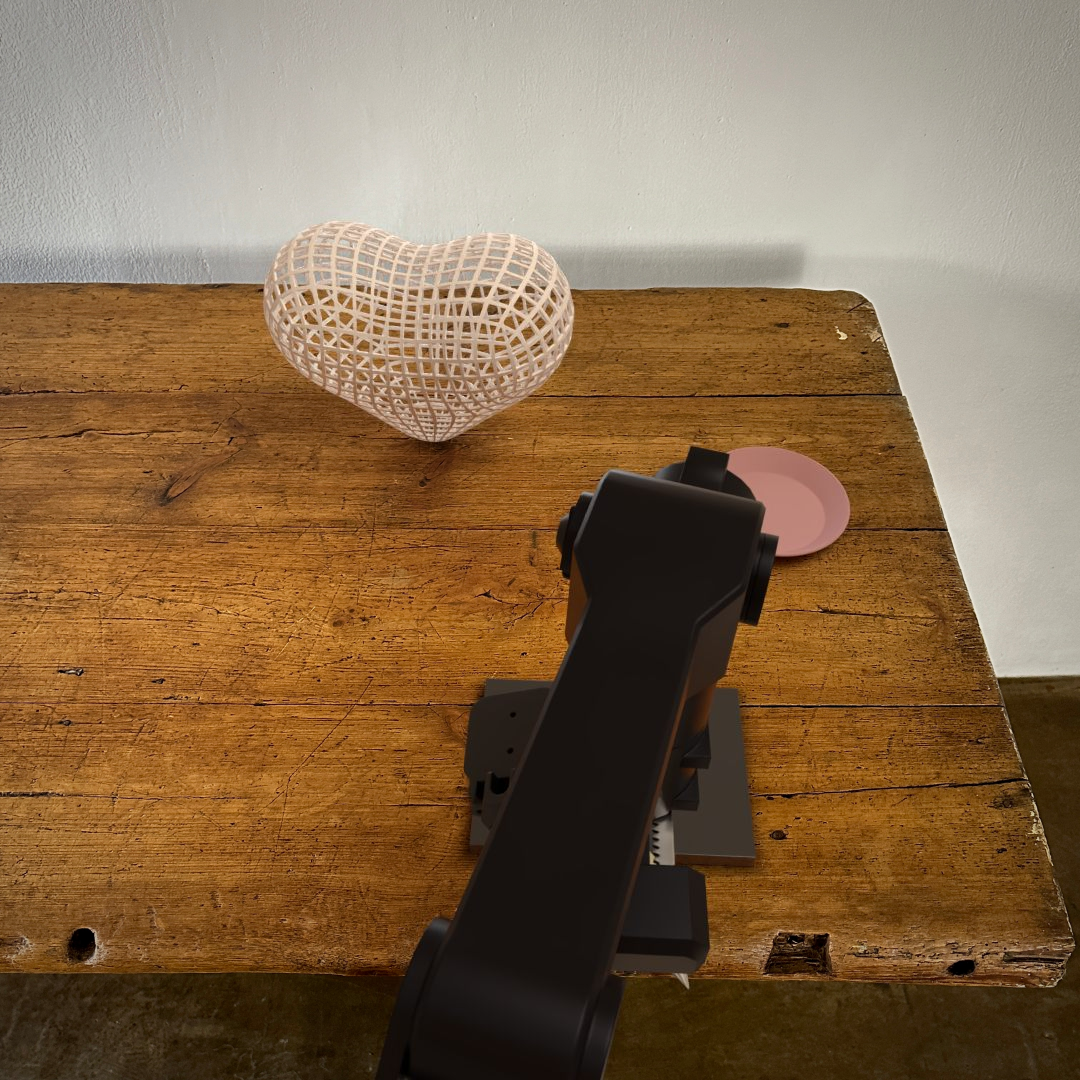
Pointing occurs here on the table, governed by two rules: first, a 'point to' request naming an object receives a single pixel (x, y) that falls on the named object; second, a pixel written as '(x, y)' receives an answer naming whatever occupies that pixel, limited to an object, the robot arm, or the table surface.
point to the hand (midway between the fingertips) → (624, 846)
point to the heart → (420, 322)
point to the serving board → (723, 790)
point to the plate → (793, 497)
